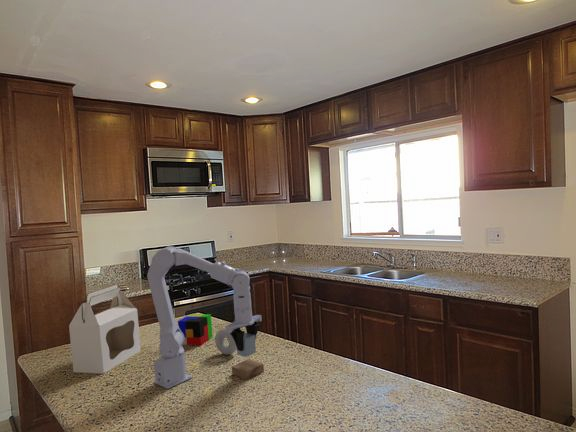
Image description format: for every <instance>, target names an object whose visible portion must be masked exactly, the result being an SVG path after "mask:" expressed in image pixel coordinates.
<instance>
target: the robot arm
mask: <svg viewBox="0 0 576 432" xmlns="http://www.w3.org/2000/svg"><path fill="white" fill-rule="evenodd" d="M174 265H175V267H177V266H181V265H182V266H183V265H188V266H190V267H193V268H196V269H198V270H201V271H204V272H207V273H208V274H209V275H210V278H211V279H214V280H216V281H218V282H221V283H222V284H226V285H227V286H231V287H232V289H233V294H232V295H233V311H234V321H233V322H231V323H229V324H228V325H225V327H224V328H225V330H226V332H227V333H230V334H231V336H232V337H233V339H234V341H235V344H236V346H237V349H238V350H239V351H243V337H244V333H249V334H253V335H255V340H256V338H257V334H258V331H259V329H260V328H261V327H260V326H261V325H260V323H258V322H262V321H263V319H262V315H261V314H255V315H253V309H252V307H253V306H252V297H251V296H252V295H251V294H252V293H251V288H250V284H251V283H250V282H251V281H250V280H251V279H250V275H249V273H248V272H246V271H245V270H244V269H239V268H237V267H236V268H234V267H231V266H230V265H227V264H226V261H221V262H220V261H217V262H214V263H213V262H210V261H209V260H206V259H204V258H202V257H200V256H198V255H196V254H193V253H191V252H189V251H187V250H185V249H182V248H177V247H176V246H173V245H167V246H166V247H164V248H161V249H159V250H157V251H156V253H155V254H154V255H153V256H152V257H151V263H150V266H149V267H148V270H147V276H146V277H147V281H148V284H149V289H150V293H151V298H152V301H153V305H154V309H155V313H156V316H157V317H156V318H157V321H158V324H159V335H158V336H159V337H158V338H159V341H160V343H159V347H158V348H159V352H160V354H161V356H160V357H159V358H157V359H155V361H154V363H153V366H154V379H155V381H154V384H156V385H159V386H161V387H162V388H164V389H170V388H172V387H175V386H177V385H179V384H182V383H183V382H186V381H188V380H190V379H192V378H193V376H192V375H189V374H188V373H187V368H186V367H187V366H186V355H185V349H184V348H183V345H182V344H183V342H184V339H185V338H184V334H183V333H182V332H181V330H180V329H179V325H178V322H177V321H176V319H175V313H174V310H173V305H172V303H171V302H172V301H171V299H170V295H169V291H168V290H169V289H168V286H167V283H166V279H165V276H166V274H167V273H168V272H169V270H170V269H171V268H172V267H173V266H174ZM242 328H245V330H246V332H245V331H244V330H242ZM237 349H236V350H237Z"/></svg>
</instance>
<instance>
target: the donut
mask: <svg viewBox="0 0 576 432" xmlns="http://www.w3.org/2000/svg"><path fill="white" fill-rule="evenodd" d="M225 338H226V340H227V342H228V345H227V344H226V342H225ZM214 339H215V341H214V342H215V346H216V348H217V350H218V351H219V352H220V353H221V354H223V355H226V356H229V355H232V354H234V353H235V352H237V346H236V344H235V341H234V339H233V337H232V336H231V334H230V333H227V332H226V330H225V327H224V328H221V329H220V330H218V331H217V333H216V335H215V338H214Z"/></svg>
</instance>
